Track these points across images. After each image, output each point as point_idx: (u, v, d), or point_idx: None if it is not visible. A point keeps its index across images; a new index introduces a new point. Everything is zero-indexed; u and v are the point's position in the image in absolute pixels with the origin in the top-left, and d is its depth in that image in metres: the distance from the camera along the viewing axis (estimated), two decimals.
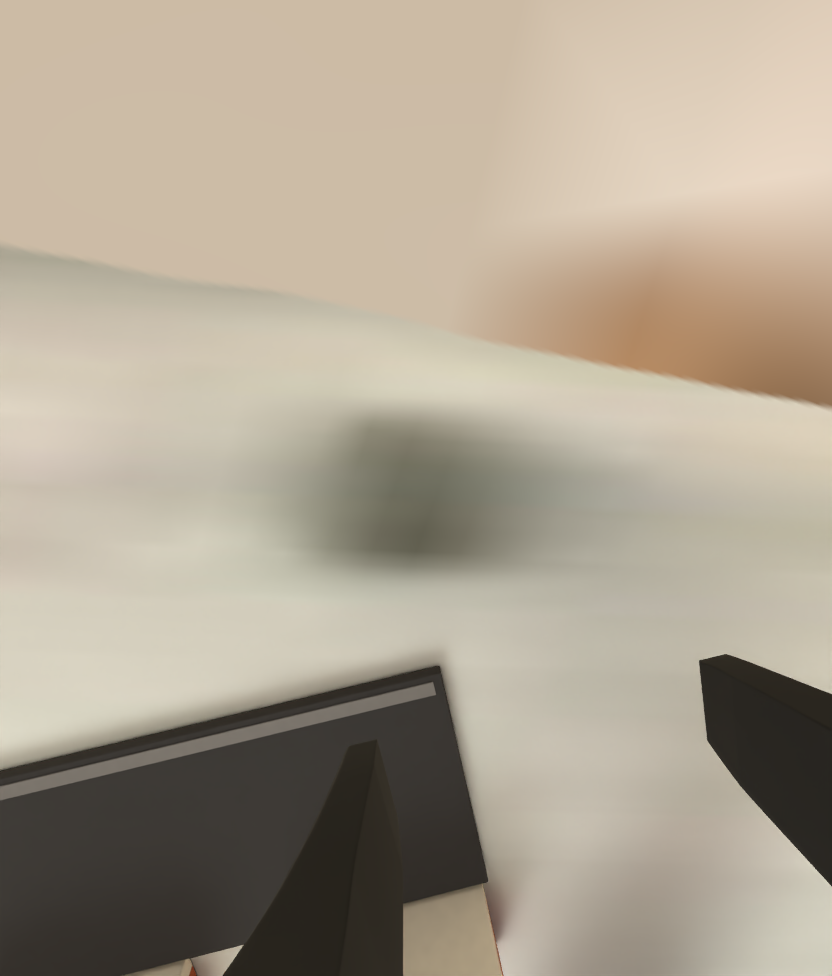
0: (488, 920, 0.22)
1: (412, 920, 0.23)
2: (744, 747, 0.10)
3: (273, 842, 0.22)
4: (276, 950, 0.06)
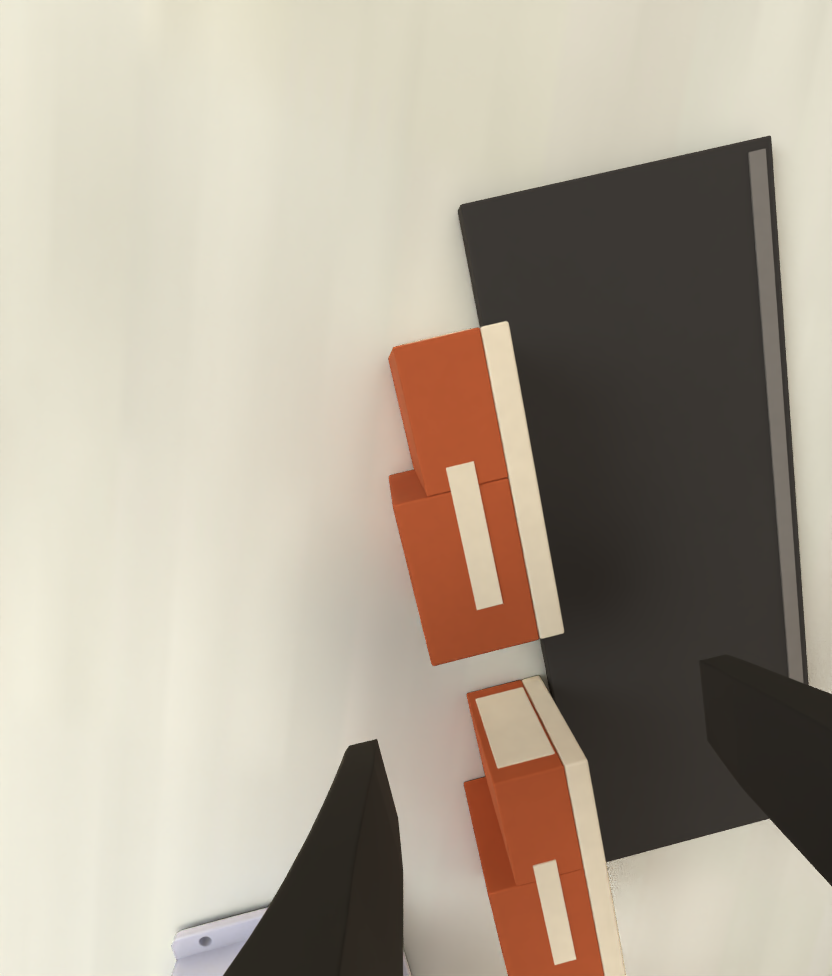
0: None
1: None
2: (744, 747, 0.10)
3: (668, 672, 0.21)
4: (277, 950, 0.06)
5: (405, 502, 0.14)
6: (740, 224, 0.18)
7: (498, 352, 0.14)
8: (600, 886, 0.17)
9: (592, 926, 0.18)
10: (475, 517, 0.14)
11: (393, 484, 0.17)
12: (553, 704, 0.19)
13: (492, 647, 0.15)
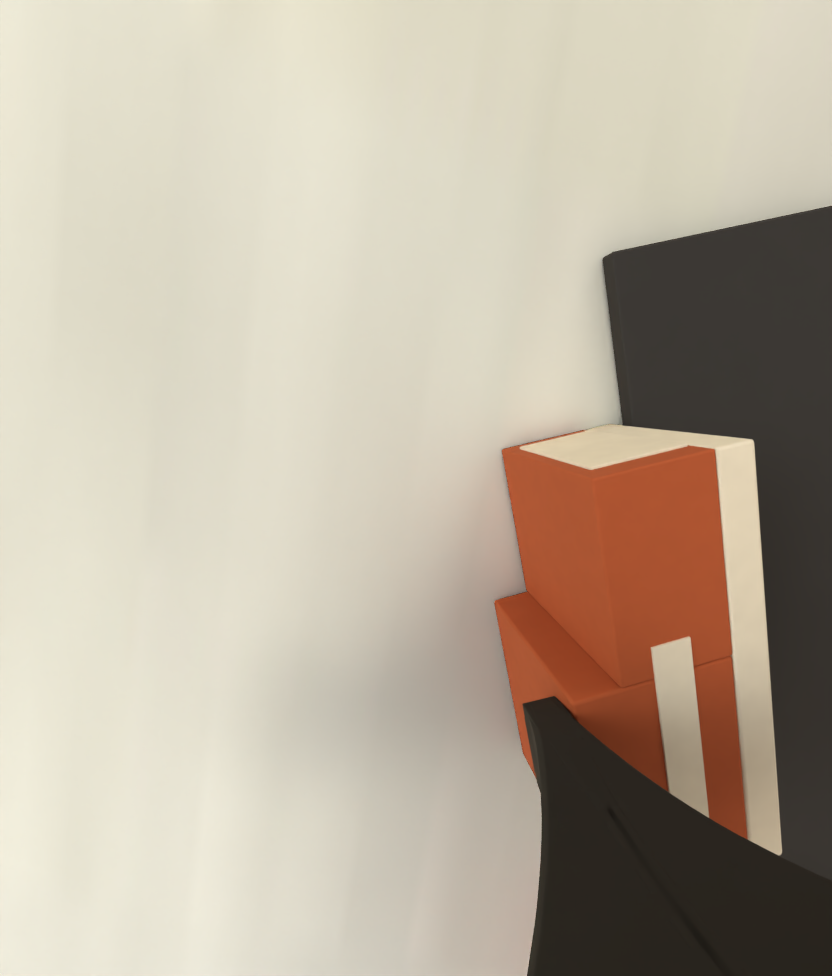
0: None
1: None
2: None
3: (829, 837, 0.17)
4: (588, 870, 0.06)
5: (589, 697, 0.10)
6: None
7: (737, 484, 0.09)
8: None
9: None
10: (684, 713, 0.10)
11: (522, 630, 0.12)
12: None
13: None
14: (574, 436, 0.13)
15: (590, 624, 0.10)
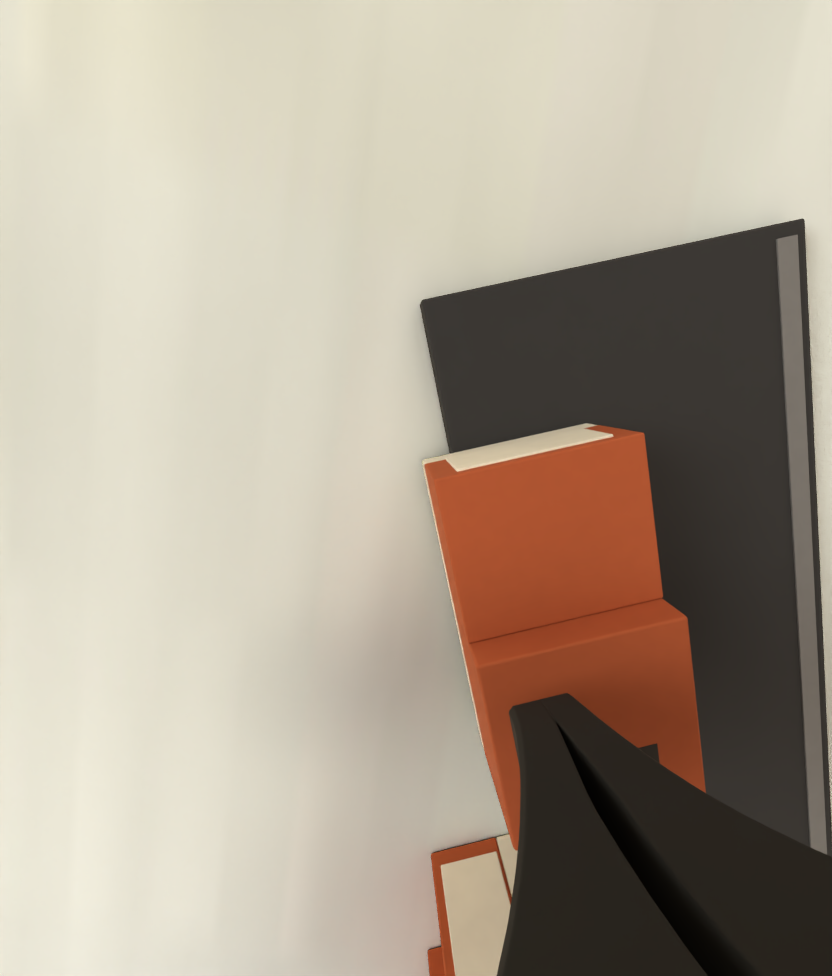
0: None
1: None
2: None
3: None
4: (561, 877, 0.06)
5: None
6: (764, 324, 0.15)
7: None
8: None
9: None
10: None
11: (560, 643, 0.11)
12: None
13: None
14: (463, 457, 0.13)
15: (622, 573, 0.12)
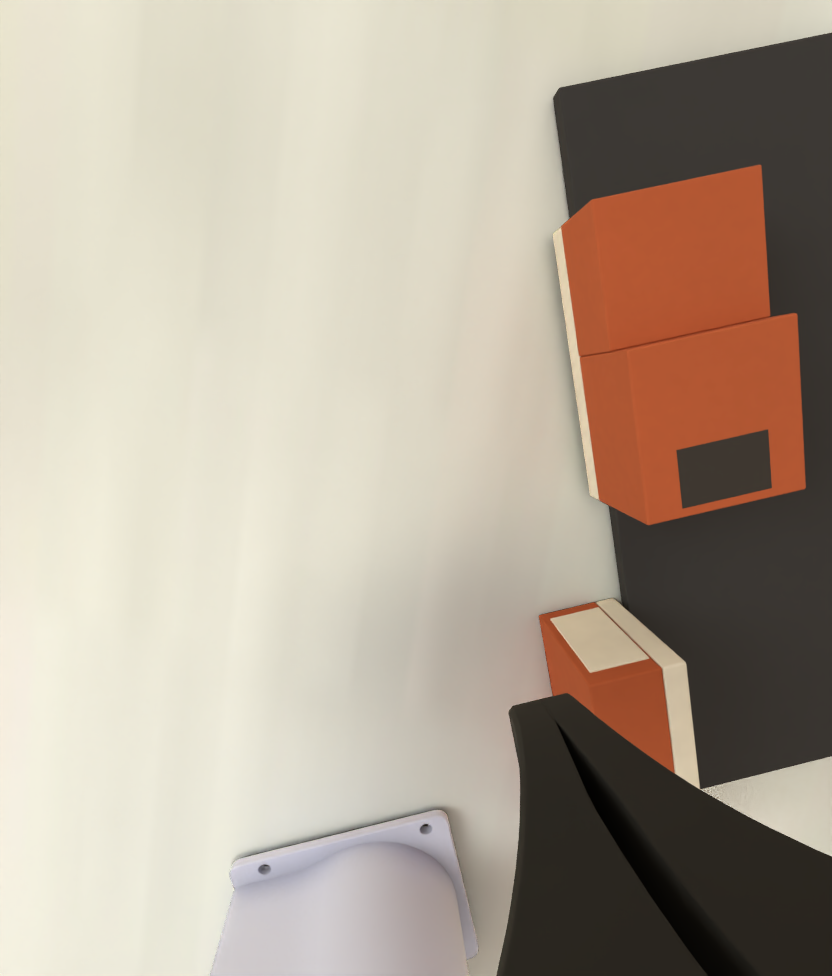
0: None
1: None
2: None
3: (747, 595, 0.20)
4: (562, 877, 0.06)
5: (786, 314, 0.14)
6: None
7: None
8: None
9: None
10: None
11: (693, 334, 0.14)
12: (636, 619, 0.19)
13: None
14: None
15: (738, 291, 0.15)
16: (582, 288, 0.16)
